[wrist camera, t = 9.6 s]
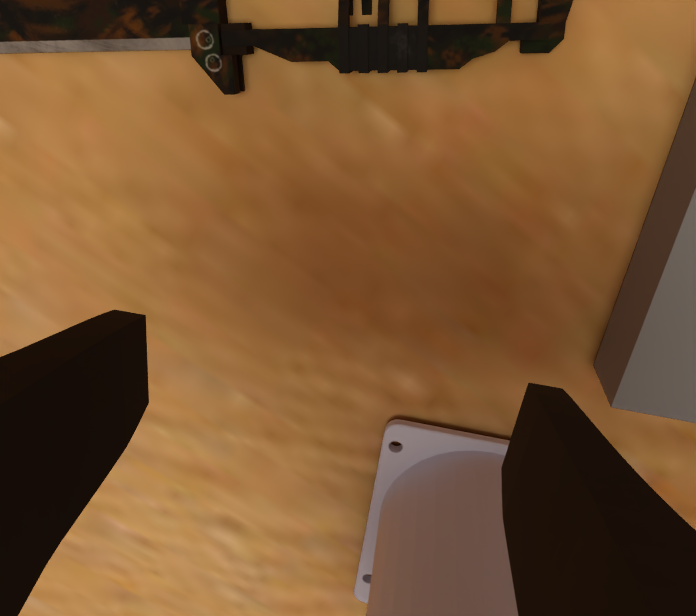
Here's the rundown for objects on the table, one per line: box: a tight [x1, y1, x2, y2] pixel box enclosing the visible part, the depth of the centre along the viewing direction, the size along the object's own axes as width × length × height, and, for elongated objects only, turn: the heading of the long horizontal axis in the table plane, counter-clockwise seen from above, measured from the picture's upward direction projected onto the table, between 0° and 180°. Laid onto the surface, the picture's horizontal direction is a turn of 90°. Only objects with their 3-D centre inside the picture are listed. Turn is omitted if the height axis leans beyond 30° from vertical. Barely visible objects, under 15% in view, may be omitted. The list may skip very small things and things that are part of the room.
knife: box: [0, 0, 573, 95], centre depth 17 cm, size 25×6×1 cm, turn 86°
